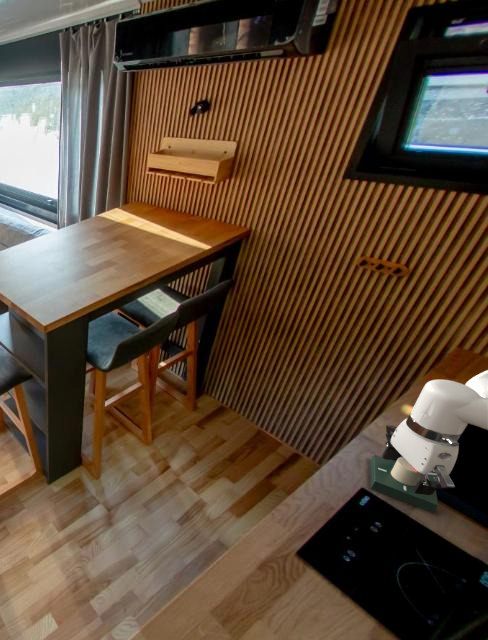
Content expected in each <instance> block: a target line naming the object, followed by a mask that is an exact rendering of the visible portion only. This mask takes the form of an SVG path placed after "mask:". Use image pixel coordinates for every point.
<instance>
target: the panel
mask: <svg viewBox="0 0 488 640" xmlns="http://www.w3.org/2000/svg"><path fill="white" fill-rule="evenodd" d="M395 463H396V460H387V459H384V458H383V457H382V456H380V455H377V454H373V455H372V457H371V458H370V463H369V464H370V465H369V467H370V468H369V469H370V489H371V490H373V491H376V492H379V493H382V494H384V495H386V496H389V497H392V498H395V499H397V500H400V501H402V502H404V503H407V504H410V505H412V506H415V507H418V508H420V509H422V510H425V511H428V512H430V513H434V512H435V511H436V509H437V508H438V507H439V501H438V496H437V489H436V490H435V491H434V493H433V494H432V495H424V494H416V493H414V491H413V489H414V487H415V486H416V485H415V486H410V485H406V484H403V483H401V482H399V481H397V480H396V479H395V478H394V477H393V476H392V475H391V471H392V469H393V467H394V465H395ZM428 479H429V480H430V481H434V479H433V475H428ZM420 481H422V479H420Z"/></svg>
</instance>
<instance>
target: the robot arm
mask: <svg viewBox="0 0 488 640" xmlns="http://www.w3.org/2000/svg"><path fill="white" fill-rule="evenodd" d="M468 424H469V425H473V426H475V427H478V428H481V429H483V430H486V431H488V369H486V370H485V371H482V372H480V373H479V374H477V375H474V376H473V377H472V378H470V379H468V381H466V382H465V384H463V383H461V382H457V381H455V380H449V379H439V378H438V379H437V378H436V379H432V380H429V381H427V382H426V383H425V384H424V386H423V388H422V389H421V392H420V394H419V395H418V397H417V399H416V401H415V403H414V405H413V407H412V409H411V411H410V413H409V414H408V417H406V418H405V419H404V420H402V421H401V422H400V423H399V425H397V426H394V425H388V424H387V425H385V430H386V433H385V438H386V441H385V446H386V447H385V449H384V452H383V453H382V455H381V457H383V458H384V459H387V460H392V461H397V459H398V458H400V457H401V456H403V457H404V458H405V459H406V460H407V461H408V462H409V463H410V464H411V465H412V466H413V467H414V468H415V469H416V470H417V471H418V472H420V475H421V479H422V481H418V482H417V484H416V486H415V487H414V489H413V491H414V493H416V494H424V495H432V494H433V493H434V491H435V490H436V491H437V489H442V490H449V489H455V488H456V486H455V483H454V482H453V480H452V478H451V477H450V474H451V472H452V471H453V469H454V467H455V464H456V461H457V459H458V455H459V449H460V448H459V447H460V446H459V445H460V443H459V442H458V441H459V439H460V437H461V436H462V434H463V433H464V432H465V429H466V428H467V427H468ZM428 475H433V479H434V481H430V480H429V479H428Z"/></svg>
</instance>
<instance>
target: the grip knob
mask: <svg viewBox="0 0 488 640" xmlns="http://www.w3.org/2000/svg"><path fill="white" fill-rule="evenodd" d="M395 462H396V463H395V465H394V467H393V469H392V471H391V475H392V476H393V477H394V478H395V479H396V480H397V481H399V482H401V483H403V484H406V485H410V486H415V485H416V484H417V482H418V481H420V479H421V475H420V472H418V471H417V470H416V469H415V468H414V467H413V466H412V465H411V464H410V463H409V462H408V461H407V460H406V459H405V458H404V457H400V458H398V459H397V460H395Z"/></svg>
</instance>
